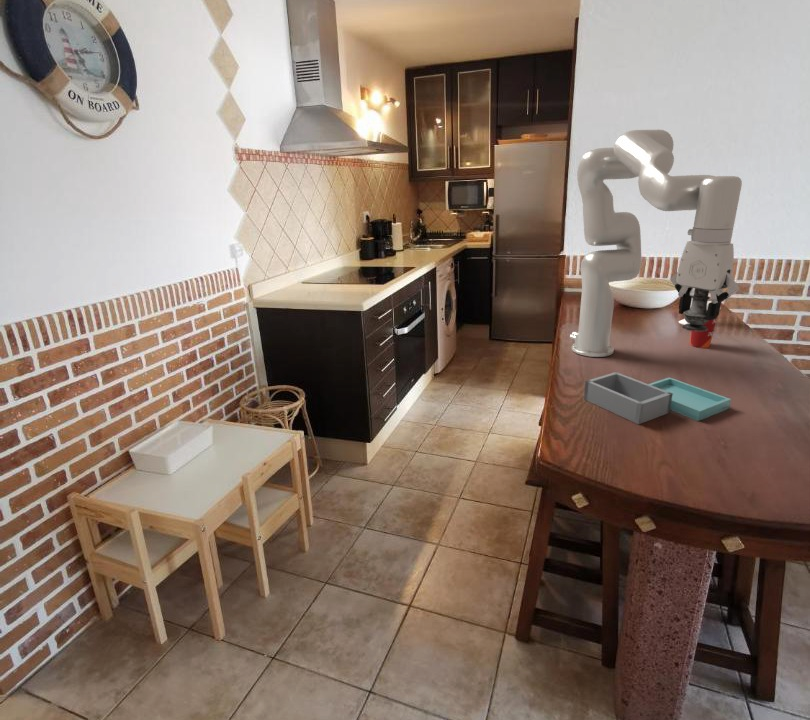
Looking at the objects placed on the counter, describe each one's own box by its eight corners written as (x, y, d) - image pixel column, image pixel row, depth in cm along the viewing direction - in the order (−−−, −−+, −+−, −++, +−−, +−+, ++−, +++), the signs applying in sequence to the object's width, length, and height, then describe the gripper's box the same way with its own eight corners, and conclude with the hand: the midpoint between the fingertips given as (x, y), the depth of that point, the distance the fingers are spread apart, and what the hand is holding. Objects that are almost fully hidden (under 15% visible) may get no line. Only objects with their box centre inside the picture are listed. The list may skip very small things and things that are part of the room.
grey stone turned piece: (675, 325, 118) (683, 275, 114) (698, 323, 119) (708, 273, 115) (690, 332, 113) (700, 280, 109) (715, 331, 113) (725, 278, 109)
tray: (637, 396, 127) (638, 387, 126) (667, 385, 132) (669, 377, 131) (697, 421, 113) (699, 411, 113) (729, 408, 119) (731, 399, 118)
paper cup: (717, 349, 156) (725, 306, 151) (690, 348, 158) (698, 305, 153) (708, 341, 163) (716, 300, 158) (682, 340, 165) (689, 299, 160)
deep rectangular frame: (583, 399, 126) (585, 381, 124) (613, 389, 131) (616, 371, 129) (638, 424, 113) (641, 404, 111) (669, 412, 118) (672, 393, 116)
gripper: (664, 234, 114) (653, 310, 120) (742, 241, 100) (725, 327, 106) (685, 231, 117) (673, 306, 124) (763, 238, 103) (745, 322, 109)
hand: (697, 315), depth 115 cm, fingers closed on grey stone turned piece, 5 cm apart
